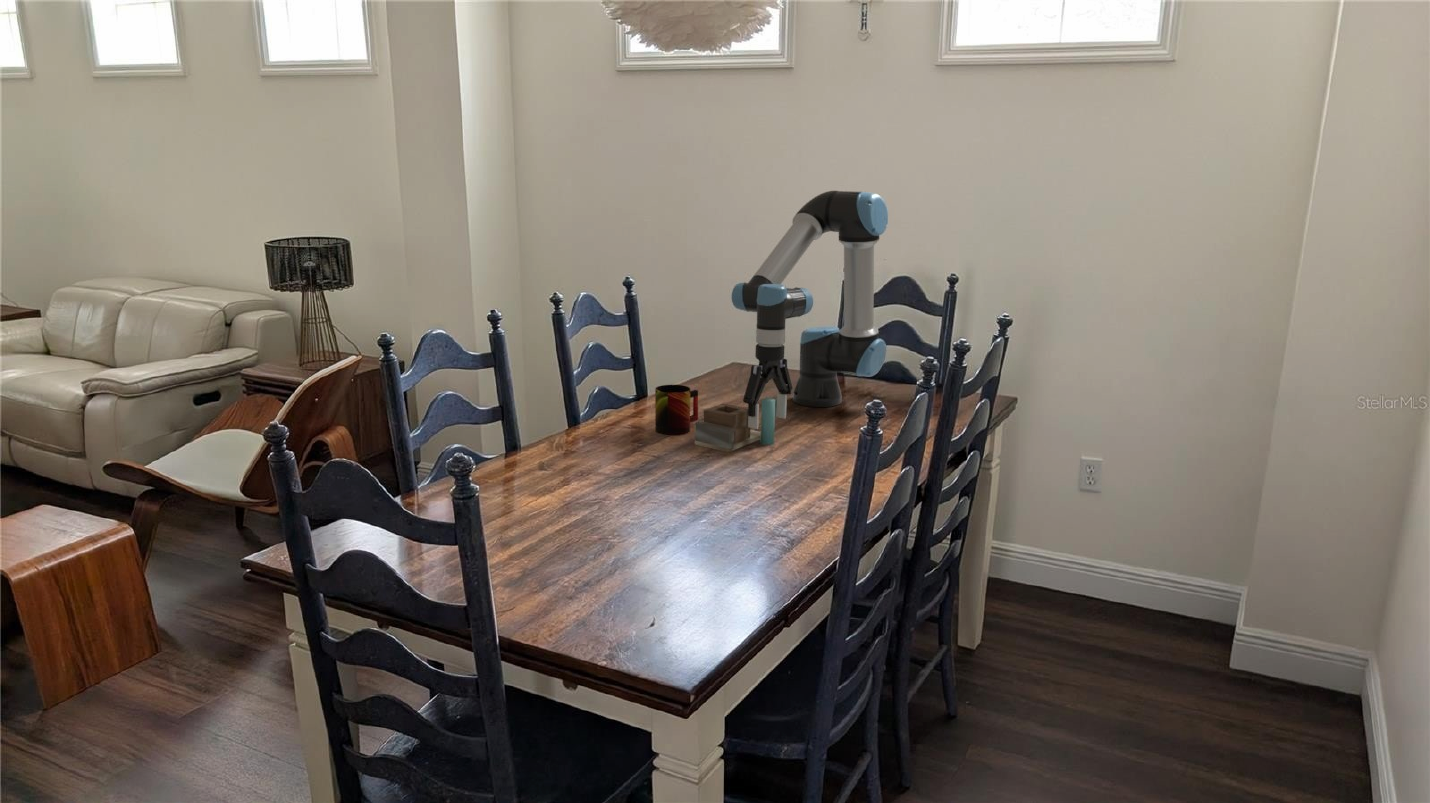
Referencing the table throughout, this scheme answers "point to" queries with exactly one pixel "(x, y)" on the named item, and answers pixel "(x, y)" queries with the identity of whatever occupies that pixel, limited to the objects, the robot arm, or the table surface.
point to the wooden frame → (720, 437)
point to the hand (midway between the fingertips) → (767, 422)
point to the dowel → (767, 421)
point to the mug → (674, 409)
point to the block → (730, 419)
